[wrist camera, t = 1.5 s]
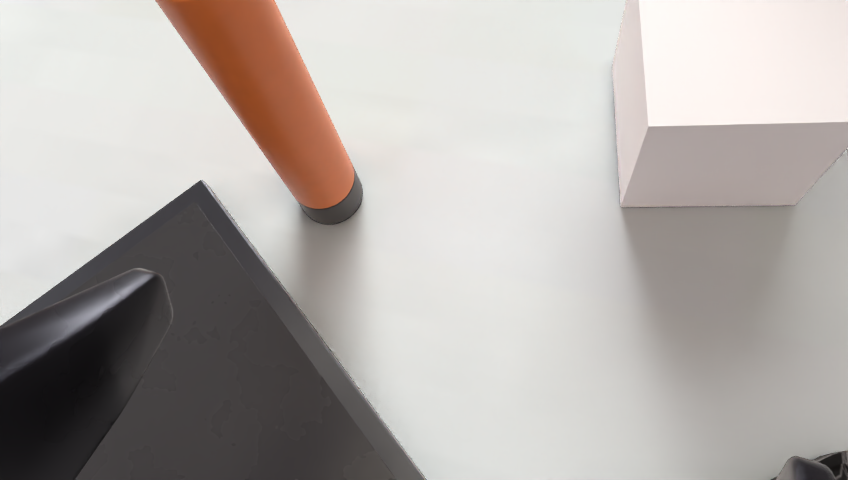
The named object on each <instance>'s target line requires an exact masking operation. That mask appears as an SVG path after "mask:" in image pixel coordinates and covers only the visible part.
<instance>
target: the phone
mask: <svg viewBox="0 0 848 480" xmlns="http://www.w3.org/2000/svg"><path fill="white" fill-rule="evenodd" d="M812 461H815V462H819V463H822V464H824V465H826V466H827V467H828V468H829V469H830V470H831V471H832V473H833V474H834V476H835V478H836V480H848V451H842V452H837V453H831V454H828V455H824V456H820V457H818V458H816V459H814V460H812ZM776 479H777V477H776V478H774V479H771V480H776Z"/></svg>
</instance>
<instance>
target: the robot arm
mask: <svg viewBox="0 0 848 480" xmlns="http://www.w3.org/2000/svg"><path fill="white" fill-rule="evenodd" d="M172 320H173V308H172V305H171V301H170V297H169V294H168V290H167V286H166V283H165V280H164V278H163V276H162V275H161V274H159V273H156V272H153V271H149V270H146V269H142V268H135V269H132V270H129V271H127V272H124V273H122V274H120V275H118V276H116V277H113V278H111V279H109V280H107V281H104V282H102V283H100V284H98V285H96V286H93V287H91V288H89V289H87V290H84V291H82V292H80V293H78V294H75V295H73V296H71V297H69V298H67V299H64V300H62V301H60V302H58V303H55V304H53V305H51V306H49V307H47V308H44V309H42V310H40V311H38V312H35V313H33V314H31V315H29V316H27V317H24V318H22V319H20V320H18V321H15V322H13V323H11V324H9V325H6V326H4V327H2V328H0V480H75V479H76V477H77V476H78V474H79V473H80V472H81V470H82V469H83V467H84V466H85V464H86V463H87V462H88V460H89V459H90V457H91V456H92V454H93V453H94V452H95V450H96V449H97V447H98V446H99V444H100V443H101V442H102V440H103V439H104V437H105V436H106V434H107V433H108V432H109V430H110V429H111V427H112V426H113V424H114V423H115V422H116V420H117V419H118V417H119V416H120V414H121V412H122V411H123V409H124V408H125V406H126V405H127V403H128V401H129V400H130V398H131V396H132V395H133V393H134V391H135V389H136V387H137V386H138V384H139V382H140V380H141V378H142V377H143V375H144V373H145V371H146V369H147V368H148V366H149V364H150V362H151V360H152V359H153V357H154V355H155V353H156V351H157V350H158V348H159V346H160V344H161V342H162V341H163V339H164V337H165V335H166V333H167V332H168V330H169V328H170V326H171V323H172ZM776 480H836V478H835V476H834V474H833V473H832V471H831V470H830V469H829V468H828V467H827V466H826V465H824V464H822V463H819V462H815V461H812V460H808V459H805V458H801V457H798V456H794V457H791V458H790V459H789V460H788V461H787V462H786V464H785V465H784V467H783V469H782V471H781V472H780V474H779V476H778V477H777V479H776Z"/></svg>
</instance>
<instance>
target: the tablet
mask: <svg viewBox="0 0 848 480" xmlns="http://www.w3.org/2000/svg"><path fill="white" fill-rule="evenodd" d="M135 268H142V269H146V270H149V271H153V272H156V273H159V274H161V275H162V276H163V278H164V280H165V283H166V286H167V290H168V294H169V297H170V301H171V305H172V308H173V320H172V323H171V326H170V328H169V330H168V332H167V333H166V335H165V337H164V339H163V341H162V342H161V344H160V346H159V348H158V350H157V351H156V353H155V355H154V357H153V359H152V360H151V362H150V364H149V366H148V368H147V369H146V371H145V373H144V375H143V377H142V378H141V380H140V382H139V384H138V386H137V387H136V389H135V391H134V393H133V395H132V396H131V398H130V400H129V401H128V403H127V405H126V406H125V408H124V409H123V411H122V412H121V414H120V416H119V417H118V419H117V420H116V422H115V423H114V424H113V426H112V427H111V429H110V430H109V432H108V433H107V434H106V436H105V437H104V439H103V440H102V442H101V443H100V444H99V446H98V447H97V449H96V450H95V452H94V453H93V454H92V456H91V457H90V459H89V460H88V462H87V463H86V464H85V466H84V467H83V469H82V470H81V472H80V473H79V474H78V476H77V477H76V479H75V480H426V479H425V477H424V476H423V475H422V473H421V472H420V470H419V469H418V468H417V466H416V465H415V464H414V462H413V461H412V460H411V458H410V457H409V456H408V454H407V453H406V452H405V450H404V449H403V448H402V446H401V445H400V443H399V442H398V441H397V439H396V438H395V437H394V435H393V434H392V433H391V431H390V430H389V429H388V427H387V426H386V425H385V423H384V422H383V421H382V419H381V418H380V416H379V415H378V414H377V412H376V411H375V410H374V408H373V407H372V406H371V404H370V403H369V402H368V400H367V399H366V398H365V396H364V395H363V394H362V392H361V391H360V389H359V388H358V387H357V385H356V384H355V383H354V381H353V380H352V379H351V377H350V376H349V375H348V373H347V372H346V371H345V369H344V368H343V367H342V365H341V364H340V362H339V361H338V360H337V358H336V357H335V356H334V354H333V353H332V352H331V350H330V349H329V348H328V346H327V345H326V344H325V342H324V341H323V340H322V338H321V337H320V335H319V334H318V333H317V331H316V330H315V329H314V327H313V326H312V325H311V323H310V322H309V321H308V319H307V318H306V317H305V315H304V314H303V313H302V311H301V310H300V308H299V307H298V306H297V304H296V303H295V302H294V300H293V299H292V298H291V296H290V295H289V294H288V292H287V291H286V290H285V288H284V287H283V286H282V284H281V283H280V281H279V280H278V279H277V277H276V276H275V275H274V273H273V272H272V271H271V269H270V268H269V267H268V265H267V264H266V263H265V261H264V260H263V259H262V257H261V256H260V254H259V253H258V252H257V250H256V249H255V248H254V246H253V245H252V244H251V242H250V241H249V240H248V238H247V237H246V236H245V234H244V233H243V232H242V230H241V229H240V227H239V226H238V225H237V223H236V222H235V221H234V219H233V218H232V217H231V215H230V214H229V213H228V211H227V210H226V209H225V207H224V206H223V205H222V203H221V202H220V200H219V199H218V198H217V196H216V195H215V194H214V192H213V191H212V190H211V188H210V187H209V186H208V185H207V184H206V183H205V182H204V181H203V180H200V181H199V182H197V183H196V184H195V185H193V186H192V187H191V188H189V189H188V190H186V191H185V192H184V193H182V194H181V195H180V196H178V197H177V198H175V199H174V200H173V201H171V202H170V203H169V204H167V205H166V206H164V207H163V208H162V209H160V210H159V211H158V212H156V213H155V214H154V215H152V216H151V217H149V218H148V219H147V220H145V221H144V222H143V223H141V224H140V225H138V226H137V227H136V228H134V229H133V230H132V231H130V232H129V233H127V234H126V235H125V236H123V237H122V238H121V239H119V240H118V241H116V242H115V243H114V244H112V245H111V246H110V247H108V248H107V249H105V250H104V251H103V252H101V253H100V254H99V255H97V256H96V257H94V258H93V259H92V260H90V261H89V262H88V263H86V264H85V265H84V266H82V267H81V268H79V269H78V270H77V271H75V272H74V273H73V274H71V275H70V276H68V277H67V278H66V279H64V280H63V281H62V282H60V283H59V284H57V285H56V286H55V287H53V288H52V289H51V290H49V291H48V292H46V293H45V294H44V295H42V296H41V297H40V298H38V299H37V300H35V301H34V302H33V303H31V304H30V305H29V306H27V307H26V308H25V309H23V310H22V311H20V312H19V313H18V314H16V315H15V316H14V317H12V318H11V319H9V320H8V321H7V322H5V323H4V324H3V325H1V326H0V328H2V327H4V326H6V325H9V324H11V323H13V322H15V321H18V320H20V319H22V318H24V317H27V316H29V315H31V314H33V313H35V312H38V311H40V310H42V309H44V308H47V307H49V306H51V305H53V304H55V303H58V302H60V301H62V300H64V299H67V298H69V297H71V296H73V295H75V294H78V293H80V292H82V291H84V290H87V289H89V288H91V287H93V286H96V285H98V284H100V283H102V282H104V281H107V280H109V279H111V278H113V277H116V276H118V275H120V274H122V273H124V272H127V271H129V270H132V269H135Z"/></svg>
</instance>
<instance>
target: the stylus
mask: <svg viewBox="0 0 848 480" xmlns="http://www.w3.org/2000/svg"><path fill="white" fill-rule="evenodd" d="M155 1H156V2H157V3H158V5H159V6H160V8H161V9H162V10H163V12H164V13H165V15H166V16H167V18H168V19H169V20H170V22H171V23H172V25H173V26H174V27H175V29H176V30H177V32H178V33H179V34H180V36H181V37H182V39H183V40H184V42H185V43H186V44H187V46H188V47H189V49H190V50H191V51H192V53H193V54H194V56H195V57H196V59H197V60H198V61H199V63H200V64H201V66H202V67H203V68H204V70H205V71H206V73H207V74H208V76H209V77H210V78H211V80H212V81H213V83H214V84H215V85H216V87H217V88H218V90H219V91H220V93H221V94H222V95H223V97H224V98H225V100H226V101H227V102H228V104H229V105H230V107H231V108H232V109H233V111H234V112H235V114H236V115H237V117H238V118H239V119H240V121H241V122H242V124H243V125H244V126H245V128H246V129H247V131H248V132H249V134H250V135H251V136H252V138H253V139H254V141H255V142H256V143H257V145H258V146H259V148H260V149H261V151H262V152H263V153H264V155H265V156H266V158H267V159H268V160H269V162H270V163H271V165H272V166H273V168H274V169H275V170H276V172H277V173H278V175H279V176H280V177H281V179H282V180H283V182H284V183H285V184H286V186H287V187H288V189H289V190H290V192H291V193H292V194H293V196H294V197H295V199H296V200H297V201H298V203H299V204H300V206H301V207H302V209H303V210H304V211H305V213H306V214H307V215H308V216H309V217H310V218H311V219H313V220H314V221H316V222H319V223H322V224H335V223H339V222H342V221H344V220H346V219H348V218H349V217H350V216H352V215H353V214H354V213H355V211H356V210H357V209H358V207H359V205H360V203H361V200H362V194H363V191H362V185H361V182H360V180H359V178H358V176H357V174H356V172H355V169H354V167H353V165H352V163H351V161H350V159H349V157H348V155H347V153H346V151H345V148H344V146H343V144H342V142H341V140H340V138H339V136H338V134H337V132H336V129H335V127H334V125H333V123H332V121H331V119H330V117H329V115H328V113H327V110H326V108H325V106H324V104H323V102H322V100H321V98H320V96H319V94H318V91H317V89H316V87H315V85H314V83H313V81H312V79H311V77H310V75H309V72H308V70H307V68H306V66H305V64H304V62H303V60H302V58H301V56H300V53H299V51H298V49H297V47H296V45H295V43H294V41H293V39H292V37H291V34H290V32H289V30H288V28H287V26H286V24H285V22H284V20H283V18H282V15H281V13H280V11H279V9H278V7H277V5H276V3H275V1H274V0H155Z"/></svg>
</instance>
